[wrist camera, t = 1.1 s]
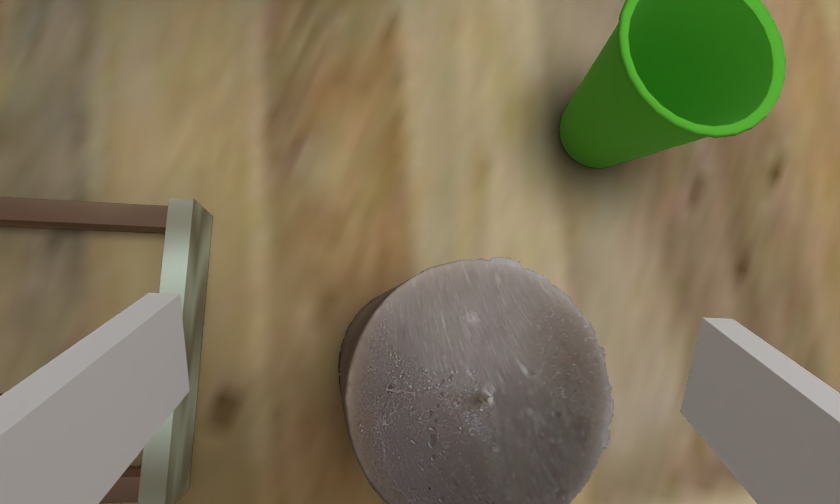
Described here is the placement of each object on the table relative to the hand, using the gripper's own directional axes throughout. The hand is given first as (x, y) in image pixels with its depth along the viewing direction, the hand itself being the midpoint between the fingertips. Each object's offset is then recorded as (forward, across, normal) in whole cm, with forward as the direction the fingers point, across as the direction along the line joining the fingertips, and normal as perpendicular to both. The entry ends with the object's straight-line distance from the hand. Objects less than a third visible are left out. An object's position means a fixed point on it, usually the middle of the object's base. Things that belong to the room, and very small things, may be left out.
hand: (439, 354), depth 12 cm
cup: (+24, +11, +4) cm, 27 cm away
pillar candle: (+16, 0, -9) cm, 18 cm away
